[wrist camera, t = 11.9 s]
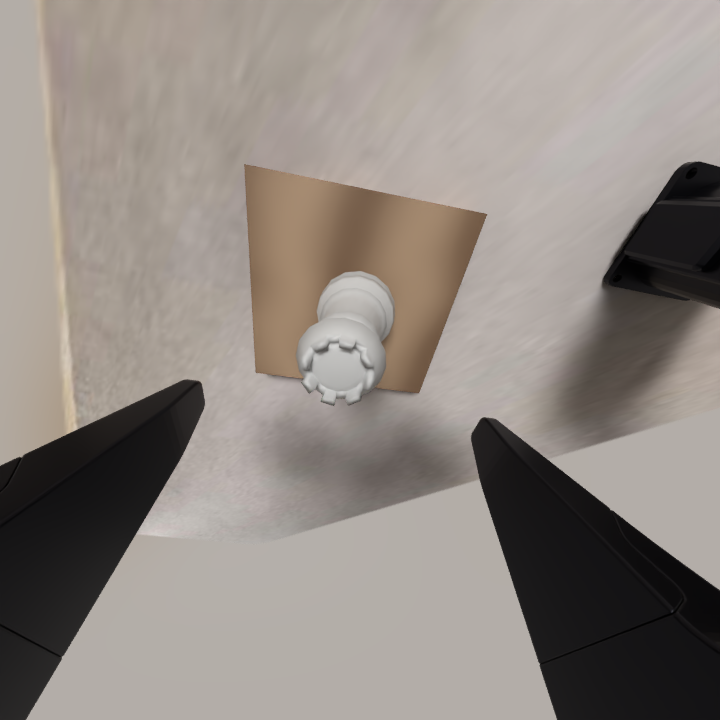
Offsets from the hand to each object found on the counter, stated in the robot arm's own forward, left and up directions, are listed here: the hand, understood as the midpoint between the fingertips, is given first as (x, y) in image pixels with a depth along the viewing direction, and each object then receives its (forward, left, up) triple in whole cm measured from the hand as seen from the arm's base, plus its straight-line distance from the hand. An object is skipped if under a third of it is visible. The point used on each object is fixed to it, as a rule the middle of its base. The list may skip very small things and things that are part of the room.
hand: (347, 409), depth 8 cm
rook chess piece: (0, 0, -9) cm, 9 cm away
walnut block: (0, 0, -11) cm, 11 cm away
